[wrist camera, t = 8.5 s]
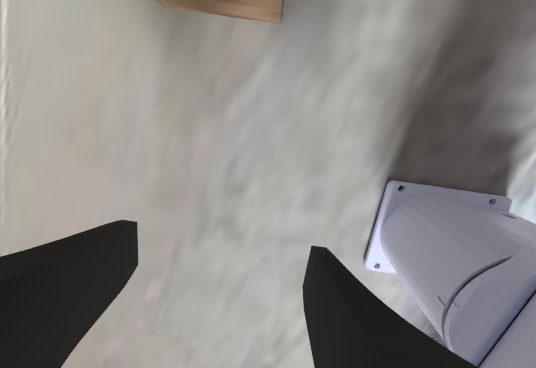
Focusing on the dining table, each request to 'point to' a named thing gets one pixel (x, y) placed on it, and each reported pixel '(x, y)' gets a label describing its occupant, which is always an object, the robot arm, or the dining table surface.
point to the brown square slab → (233, 8)
